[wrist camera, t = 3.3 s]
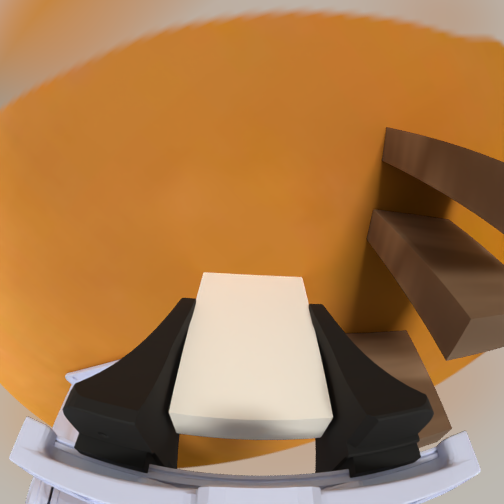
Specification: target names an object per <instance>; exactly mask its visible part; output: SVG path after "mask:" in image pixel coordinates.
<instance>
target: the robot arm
mask: <svg viewBox="0 0 504 504" xmlns="http://www.w3.org/2000/svg"><path fill="white" fill-rule="evenodd" d="M195 305H196V299H192V298H182V299H181V300H180V301H179V302H178V303H177V305H176V306H175V307H174V309H173V310H172V311H171V312H170V313H169V315H168V316H167V317H166V318H165V319H164V320H163V321H162V323H161V324H160V325H159V326H158V327H157V328H156V329H155V330H154V331H153V332H152V333H151V334H150V335H149V336H148V337H147V338H146V339H145V340H144V341H143V342H142V343H141V344H140V345H138V346H137V347H136V348H135V349H134V350H133V351H131V352H130V353H129V354H127V355H126V356H125V357H123V358H122V359H120V360H116V361H113V362H109V363H105V364H102V365H98V366H94V367H90V368H86V369H82V370H79V371H74V372H70V373H67V374H66V376H65V378H66V379H67V380H68V381H69V382H70V383H71V384H72V385H71V387H70V389H69V391H68V393H67V396H66V398H65V400H64V402H63V404H62V407H61V409H60V411H59V413H58V416H57V418H56V420H55V423H54V425H53V427H52V429H51V428H50V427H49V426H47V425H45V424H43V423H41V422H39V421H37V420H35V419H33V418H31V417H26V419H25V421H24V424H23V425H22V428H21V430H20V433H19V435H18V437H17V439H16V442H15V445H14V447H13V449H12V452H11V454H10V457H9V458H10V460H11V461H12V462H14V463H15V464H17V465H18V466H19V467H21V468H22V469H24V470H25V471H27V472H28V473H30V474H31V475H32V476H33V479H32V482H31V485H30V488H29V491H28V495H27V498H26V502H25V504H421V503H423V502H426V501H428V500H430V499H432V498H435V497H437V496H440V495H442V494H444V493H446V492H448V491H450V490H452V489H454V488H455V487H457V486H459V485H461V484H463V483H464V482H466V481H467V480H469V479H471V478H472V477H474V476H476V475H477V474H479V473H480V471H481V470H480V467H479V464H478V461H477V458H476V455H475V453H474V450H473V447H472V445H471V442H470V439H469V437H468V434H467V432H466V431H462V432H460V433H457V434H455V435H452V436H450V437H448V438H446V439H444V440H443V441H441V442H440V443H439V444H438V445H437V446H436V447H434V448H431V449H428V450H425V451H422V452H419V448H418V445H417V443H418V442H419V441H420V438H419V435H418V433H419V432H420V431H421V430H422V429H423V428H424V427H425V426H426V425H427V424H428V423H429V422H430V421H431V419H432V417H433V415H434V412H433V409H432V406H431V404H430V402H429V399H428V397H427V395H426V394H424V393H422V392H420V391H418V390H416V389H413V388H411V387H409V386H408V385H406V384H404V383H403V382H401V381H399V380H398V379H396V378H395V377H393V376H392V375H390V374H389V373H387V372H386V371H385V370H383V369H382V368H381V367H379V366H378V365H377V364H375V363H374V362H373V361H372V360H371V359H370V358H369V357H367V356H366V355H365V354H364V353H363V352H362V351H361V350H360V349H359V348H358V347H357V346H356V345H355V344H354V343H353V342H352V341H351V339H350V338H349V337H348V336H347V335H346V334H345V332H344V331H343V330H342V329H341V328H340V326H339V325H338V324H337V323H336V321H335V320H334V319H333V317H332V316H331V315H330V313H329V312H328V311H327V310H326V308H325V307H324V306H323V305H322V304H309V311H310V316H311V320H312V324H313V327H314V329H315V333H316V338H317V342H318V347H319V351H320V356H321V360H322V365H323V369H324V374H325V379H326V384H327V389H328V394H329V399H330V404H331V409H332V414H333V418H332V420H331V422H330V423H329V425H328V427H327V428H326V430H325V432H324V433H323V435H322V436H321V438H315V440H316V472H315V473H312V474H299V475H282V476H281V475H280V476H245V475H244V476H243V475H224V474H212V473H202V472H194V471H186V470H180V469H177V457H178V443H179V433H176V430H175V428H174V425H173V422H172V420H171V417H170V414H169V409H170V404H171V400H172V395H173V391H174V386H175V382H176V378H177V374H178V369H179V365H180V361H181V357H182V353H183V349H184V345H185V341H186V337H187V333H188V329H189V325H190V322H191V319H192V316H193V313H194V309H195Z"/></svg>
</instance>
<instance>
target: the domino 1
mask: <svg viewBox="0 0 504 504" xmlns="http://www.w3.org/2000/svg"><path fill="white" fill-rule="evenodd" d="M169 414H170V417H171V420H172V422H173V425H174V428H175V430H176V433H179V434H187V435H195V436H204V437H214V438H228V439H249V440H287V439H308V438H321V436H322V435H323V433H324V432H325V430H326V428H327V427H328V425H329V423H330V422H331V420H332V418H333V414H332V409H331V404H330V399H329V394H328V389H327V384H326V379H325V374H324V369H323V365H322V360H321V356H320V351H319V347H318V342H317V338H316V333H315V329H314V327H313V324H312V320H311V316H310V311H309V304H308V299H307V295H306V291H305V287H304V283H303V279H302V277H284V276H262V275H242V274H224V273H207V272H204V273H203V277H202V280H201V284H200V287H199V291H198V295H197V298H196V305H195V309H194V313H193V316H192V319H191V322H190V325H189V329H188V333H187V337H186V341H185V345H184V349H183V353H182V357H181V361H180V365H179V369H178V374H177V378H176V382H175V386H174V391H173V395H172V400H171V404H170V409H169Z"/></svg>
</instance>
